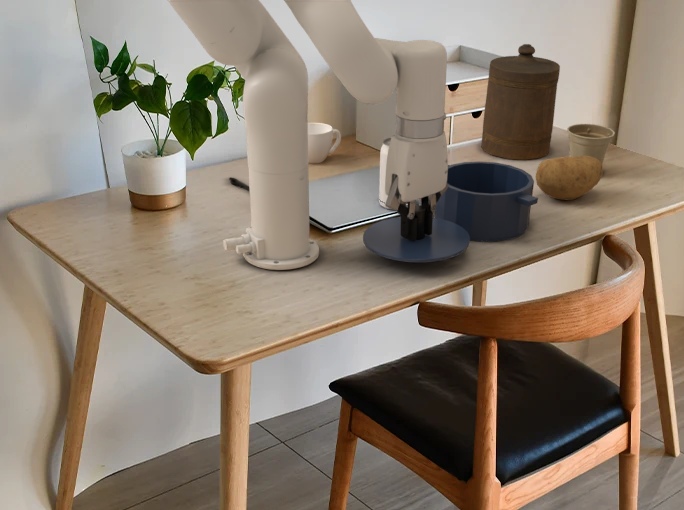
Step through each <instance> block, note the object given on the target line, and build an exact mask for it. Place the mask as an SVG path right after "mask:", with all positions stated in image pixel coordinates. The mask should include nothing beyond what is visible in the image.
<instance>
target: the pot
mask: <svg viewBox="0 0 684 510" xmlns="http://www.w3.org/2000/svg"><path fill="white" fill-rule="evenodd" d="M447 184H448V189H447V190H446V191H445V192H444V193H443V194H442V195H441V196H440V199H439V200H438V202H437V203H436V210H435V211H434V218H438V219H443V220H447V221H450V222H453V223H455V224H457V225H459V226H461V227H462V228H464V229H465V230H466V231H467V232H468V234H469V236H470V241H474V242H492V243H493V242H502V241H508V240H509V241H510V240H512V239H515V238H519V237H520V236H522V235H524V234H525V233H526V231H527V230H528V227H529V225H530V217H531V210H532V206H534V205H536V204H538V202H539V197H537V196H533V193H534V184H535V180H534V178H533V176H532V174H531V173H529V172H527V171H526V170H524V169H522V168H519V167H516V166H513V165H512V164H511V165H510V164H505V163H501V162H500V163H499V162H494V161H491V162H490V161H479V160H477V161H463V162H458V163H452V164H448V174H447Z"/></svg>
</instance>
